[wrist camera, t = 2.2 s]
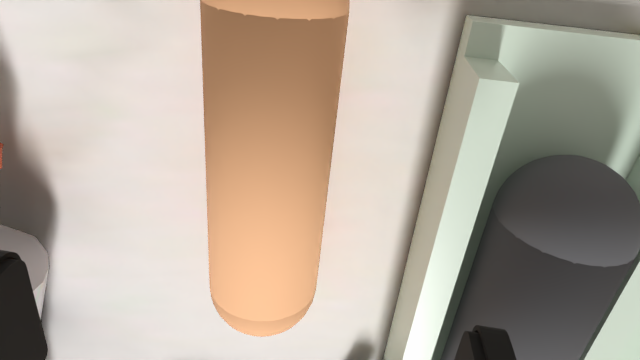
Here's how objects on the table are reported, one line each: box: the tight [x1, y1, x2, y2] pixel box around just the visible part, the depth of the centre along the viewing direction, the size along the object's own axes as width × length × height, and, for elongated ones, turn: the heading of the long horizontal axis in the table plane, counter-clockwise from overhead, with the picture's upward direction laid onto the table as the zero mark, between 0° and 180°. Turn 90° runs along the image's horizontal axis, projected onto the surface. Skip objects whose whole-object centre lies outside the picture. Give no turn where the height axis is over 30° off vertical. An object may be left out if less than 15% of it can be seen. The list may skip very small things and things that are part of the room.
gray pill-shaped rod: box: [440, 155, 640, 360], centre depth 16 cm, size 14×4×4 cm, turn 175°
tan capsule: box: [200, 0, 349, 337], centre depth 15 cm, size 14×4×4 cm, turn 175°
